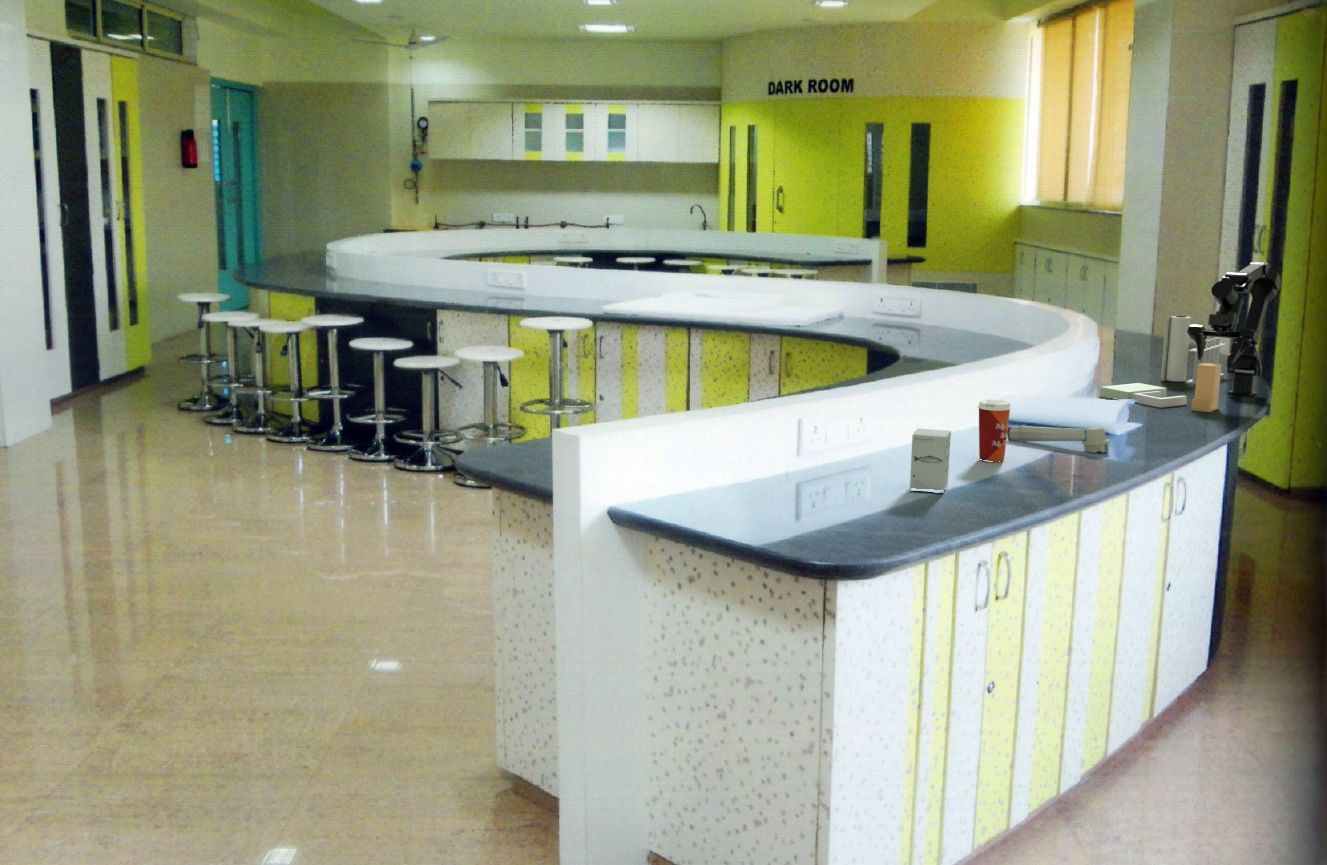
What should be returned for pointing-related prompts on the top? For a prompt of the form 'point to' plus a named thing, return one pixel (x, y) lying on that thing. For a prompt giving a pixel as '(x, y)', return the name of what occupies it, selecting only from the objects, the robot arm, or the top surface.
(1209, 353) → the test tube rack
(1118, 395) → the cream stepped slab
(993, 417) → the paper cup
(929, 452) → the supplement box
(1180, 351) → the paper towel roll
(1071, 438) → the grey piece
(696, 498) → the top surface
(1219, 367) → the tan footed upright block
